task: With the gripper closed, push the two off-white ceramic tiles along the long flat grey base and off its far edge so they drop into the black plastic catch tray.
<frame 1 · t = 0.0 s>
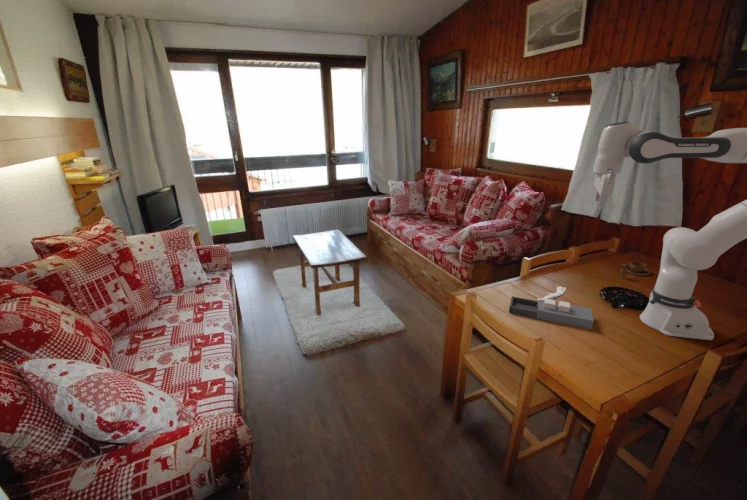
hand: (599, 203, 130), 48 cm above the table, fingers open, 8 cm apart
tile far: (548, 306, 142), point 4 cm above the table, touching long flat grey base
place setting: (628, 272, 179), on the table
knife: (553, 293, 162), on the table
tile near: (563, 309, 140), point 4 cm above the table, touching long flat grey base
long flat grey base: (563, 317, 141), on the table
tray: (523, 309, 148), on the table
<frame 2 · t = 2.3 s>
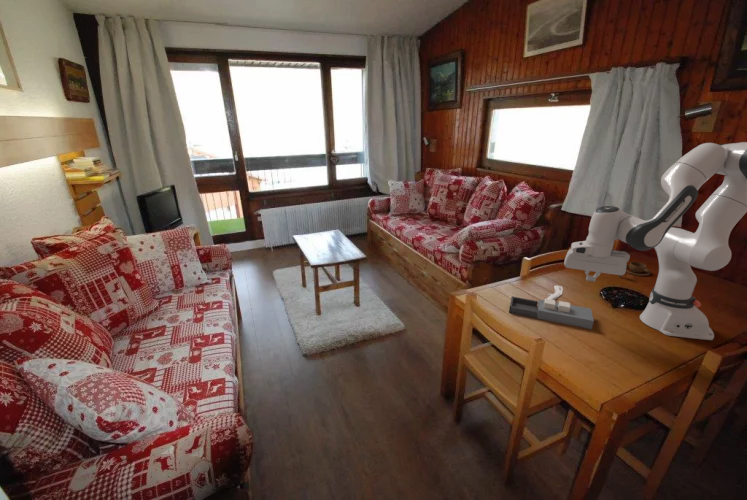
hand: (590, 280, 131), 19 cm above the table, fingers closed
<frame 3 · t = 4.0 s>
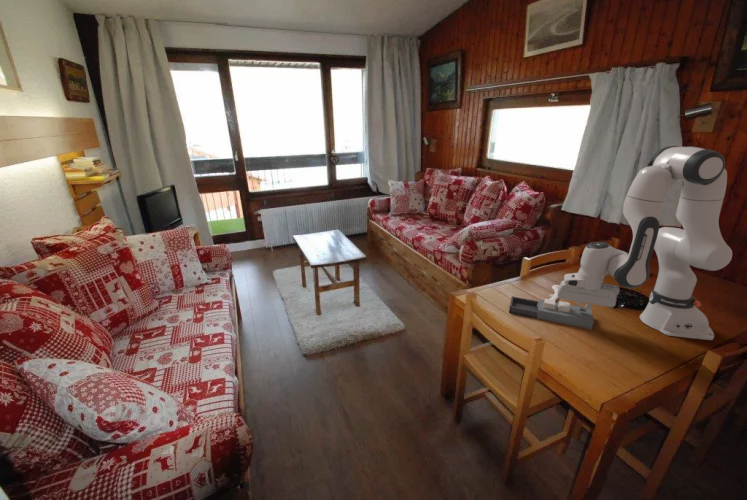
hand: (582, 310, 137), 5 cm above the table, fingers closed
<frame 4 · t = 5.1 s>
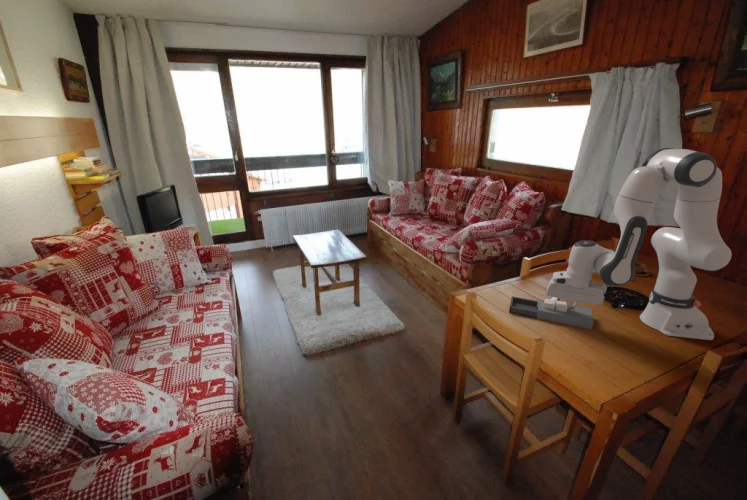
hand: (570, 308, 138), 5 cm above the table, fingers closed
tile near: (560, 308, 140), point 4 cm above the table, touching long flat grey base, gripper
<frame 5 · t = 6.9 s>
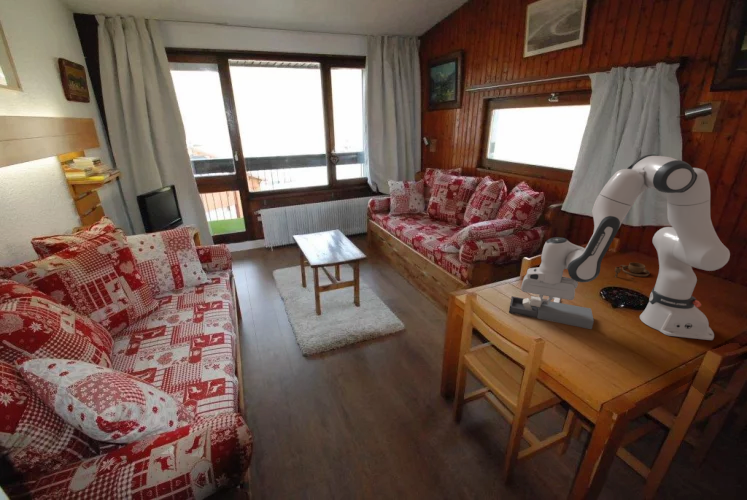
hand: (544, 303, 142), 5 cm above the table, fingers closed
tile far: (530, 303, 145), point 4 cm above the table, tilted 120°, touching tray
tile near: (535, 303, 144), point 4 cm above the table, touching long flat grey base, gripper
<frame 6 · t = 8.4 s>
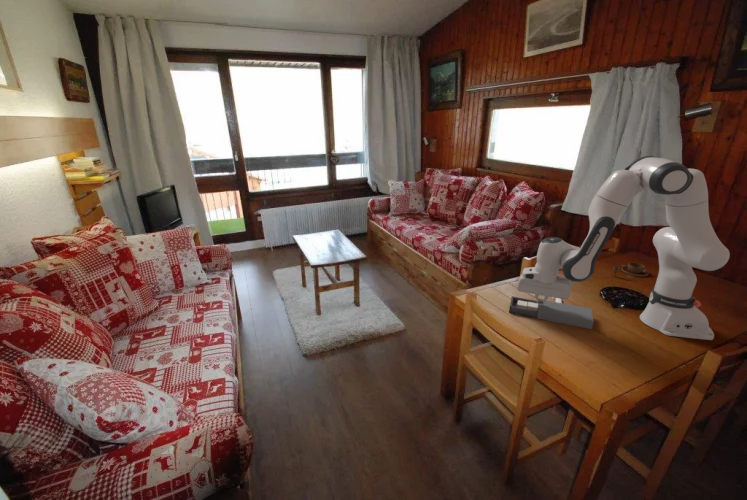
hand: (540, 303, 143), 5 cm above the table, fingers closed
tile far: (522, 303, 147), point 3 cm above the table, tilted 180°, touching tray
tile near: (532, 309, 146), point 1 cm above the table, touching tray
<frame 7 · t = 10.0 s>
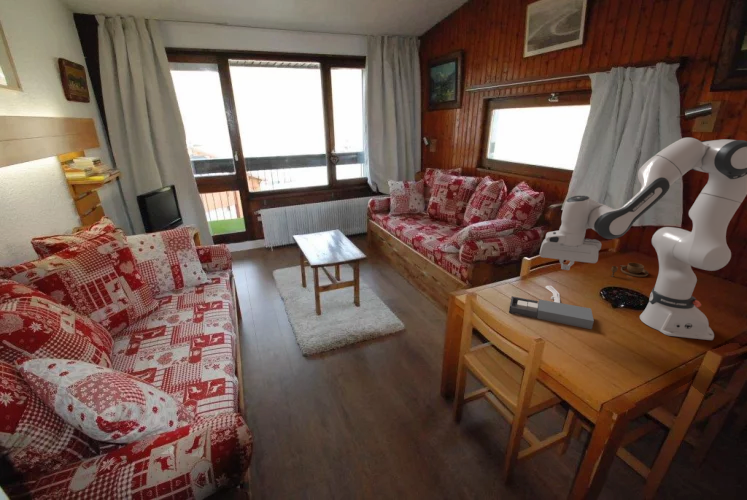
hand: (565, 269, 134), 22 cm above the table, fingers closed
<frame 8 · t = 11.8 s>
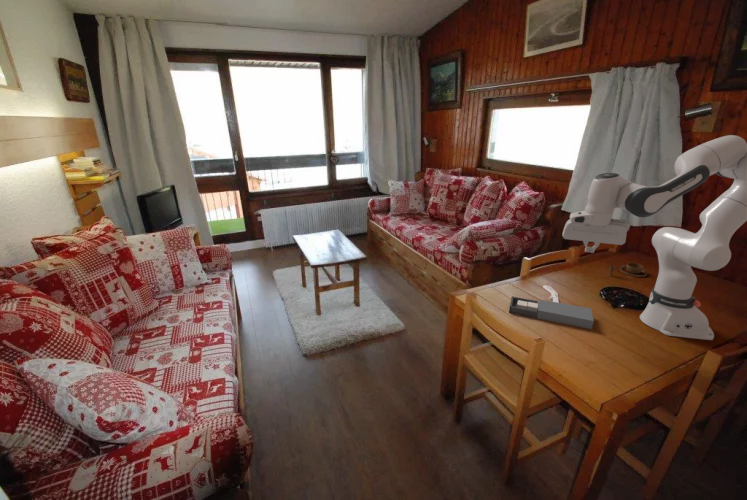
hand: (589, 251, 128), 31 cm above the table, fingers closed
at the end: tile near inside the target area on the tray (3.4 cm from its centre), point 0.8 cm above the tray's base; tile far inside the target area on the tray (0.9 cm from its centre), point 3.3 cm above the tray's base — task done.
